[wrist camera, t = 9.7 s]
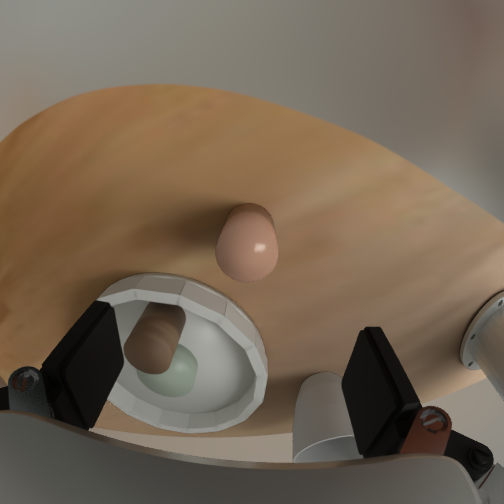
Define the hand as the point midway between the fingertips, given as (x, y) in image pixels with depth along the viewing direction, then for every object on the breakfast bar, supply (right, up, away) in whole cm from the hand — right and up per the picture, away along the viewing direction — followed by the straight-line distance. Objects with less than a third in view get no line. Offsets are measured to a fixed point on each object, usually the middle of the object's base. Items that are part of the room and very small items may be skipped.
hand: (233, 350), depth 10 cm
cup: (+9, -12, +21) cm, 26 cm away
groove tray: (-8, -8, +19) cm, 22 cm away
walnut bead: (-7, -2, +16) cm, 18 cm away
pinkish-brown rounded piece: (0, +6, +14) cm, 15 cm away
